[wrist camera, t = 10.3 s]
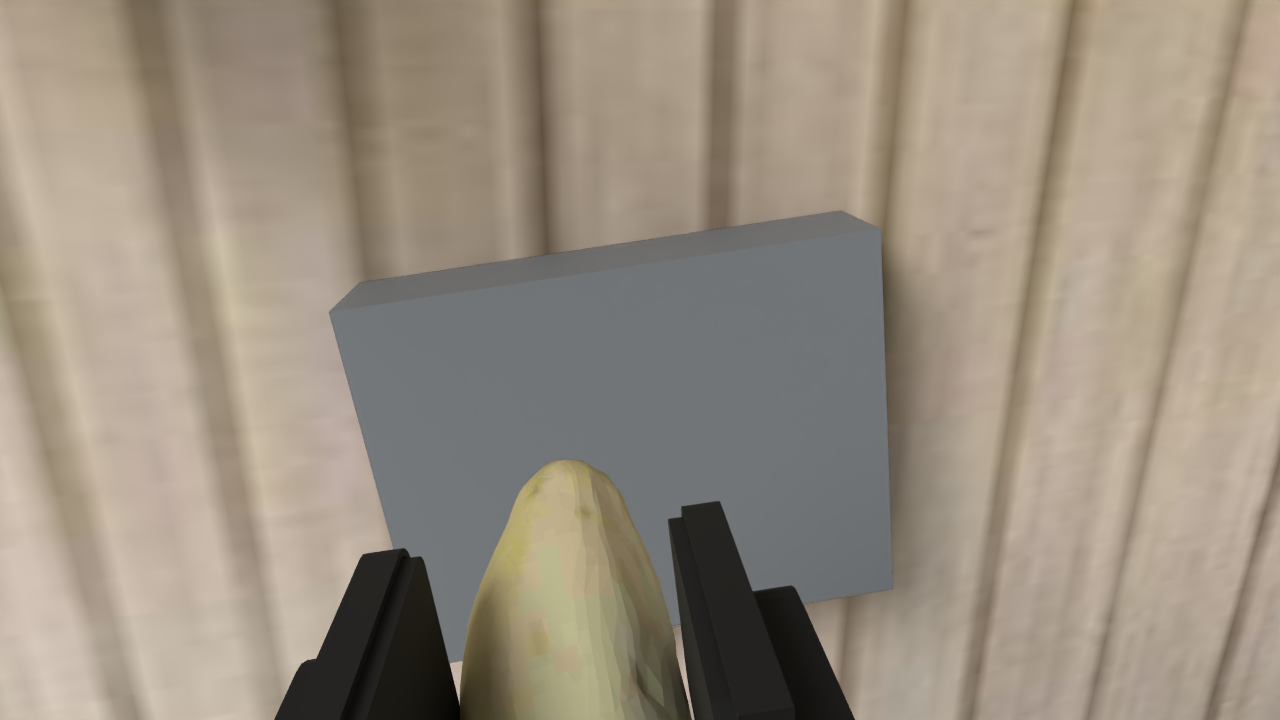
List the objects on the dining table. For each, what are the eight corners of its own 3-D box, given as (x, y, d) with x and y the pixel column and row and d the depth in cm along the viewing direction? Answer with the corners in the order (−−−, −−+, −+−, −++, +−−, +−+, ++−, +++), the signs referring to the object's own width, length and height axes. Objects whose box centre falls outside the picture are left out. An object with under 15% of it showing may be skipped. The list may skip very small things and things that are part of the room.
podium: (841, 210, 30) (880, 228, 26) (858, 534, 35) (893, 589, 31) (359, 282, 30) (328, 311, 26) (441, 602, 34) (425, 667, 30)
